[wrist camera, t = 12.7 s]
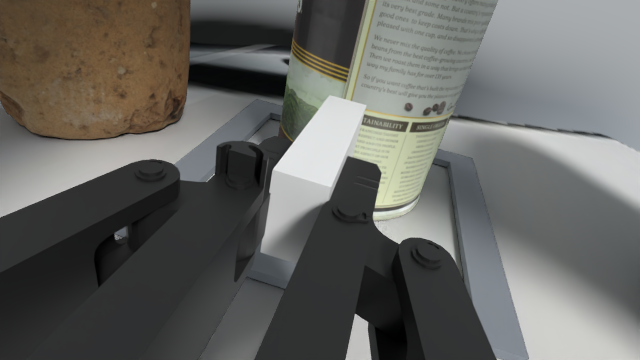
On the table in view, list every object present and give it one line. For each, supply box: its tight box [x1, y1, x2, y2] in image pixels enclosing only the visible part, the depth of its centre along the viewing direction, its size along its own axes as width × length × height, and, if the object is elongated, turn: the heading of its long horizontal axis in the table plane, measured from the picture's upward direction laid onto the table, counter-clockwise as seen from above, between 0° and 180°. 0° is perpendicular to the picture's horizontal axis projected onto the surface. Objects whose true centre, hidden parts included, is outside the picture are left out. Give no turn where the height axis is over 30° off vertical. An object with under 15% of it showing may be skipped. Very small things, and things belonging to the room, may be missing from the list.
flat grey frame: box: [114, 99, 529, 360], centre depth 24 cm, size 19×19×1 cm
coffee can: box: [278, 0, 498, 221], centre depth 22 cm, size 10×10×14 cm
